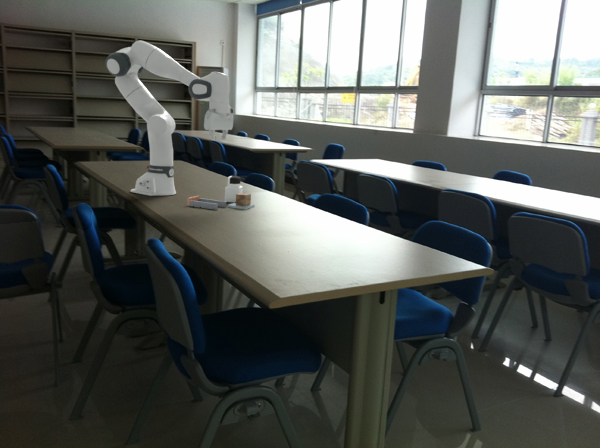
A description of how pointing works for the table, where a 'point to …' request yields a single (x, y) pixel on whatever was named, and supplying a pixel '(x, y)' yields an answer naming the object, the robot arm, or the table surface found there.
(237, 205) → the tile
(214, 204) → the channel
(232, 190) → the medicine bottle
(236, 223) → the table surface
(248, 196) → the block
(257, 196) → the table surface
